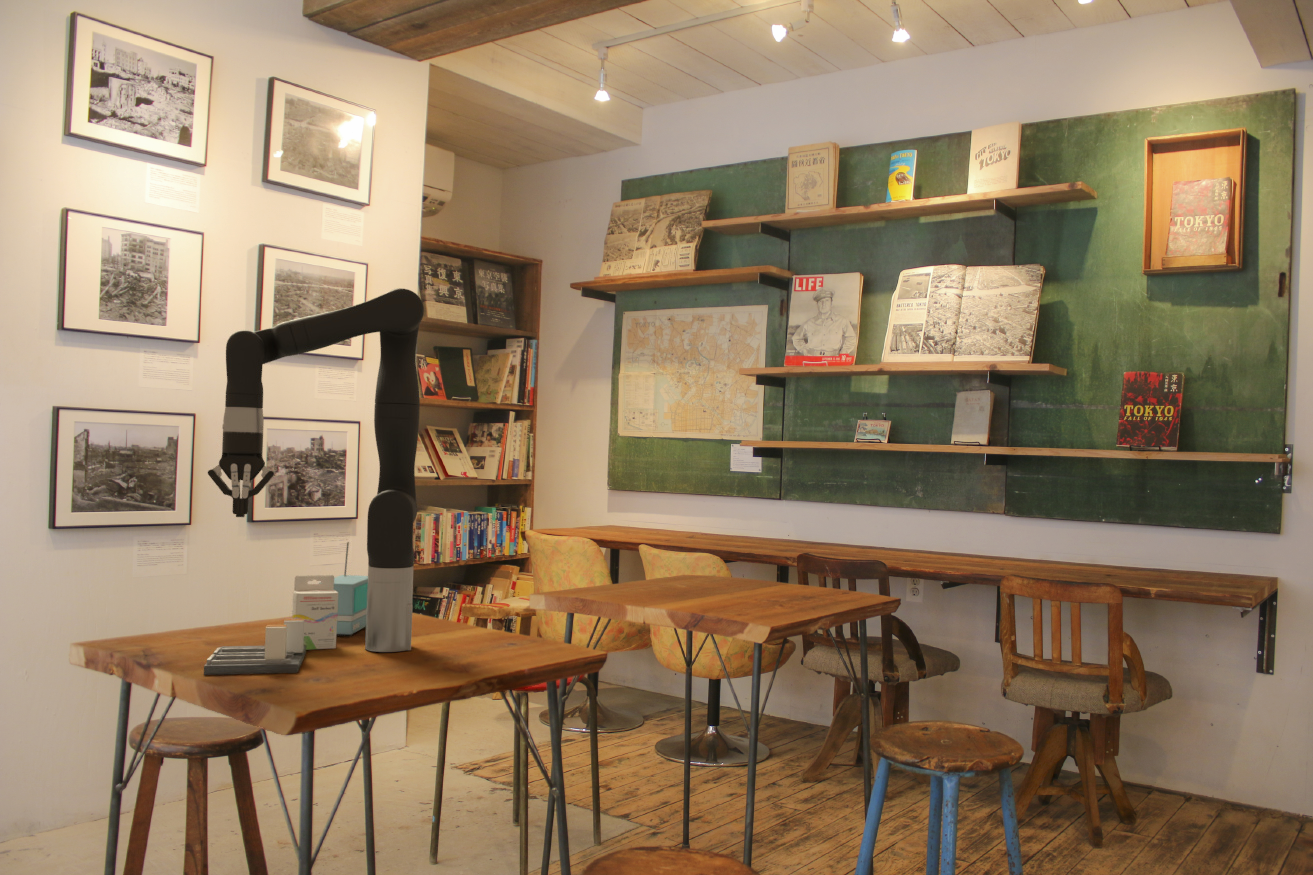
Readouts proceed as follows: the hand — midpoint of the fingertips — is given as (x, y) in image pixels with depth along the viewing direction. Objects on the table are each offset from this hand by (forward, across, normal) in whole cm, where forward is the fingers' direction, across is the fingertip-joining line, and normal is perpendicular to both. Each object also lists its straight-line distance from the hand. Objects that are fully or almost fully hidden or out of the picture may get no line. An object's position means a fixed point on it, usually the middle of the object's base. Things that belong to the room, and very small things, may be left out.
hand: (240, 516), depth 202 cm
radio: (+28, -21, -23) cm, 42 cm away
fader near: (+25, -9, +17) cm, 31 cm away
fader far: (+25, -12, +10) cm, 29 cm away
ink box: (+28, -15, -4) cm, 31 cm away
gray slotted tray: (+27, -5, +11) cm, 30 cm away
